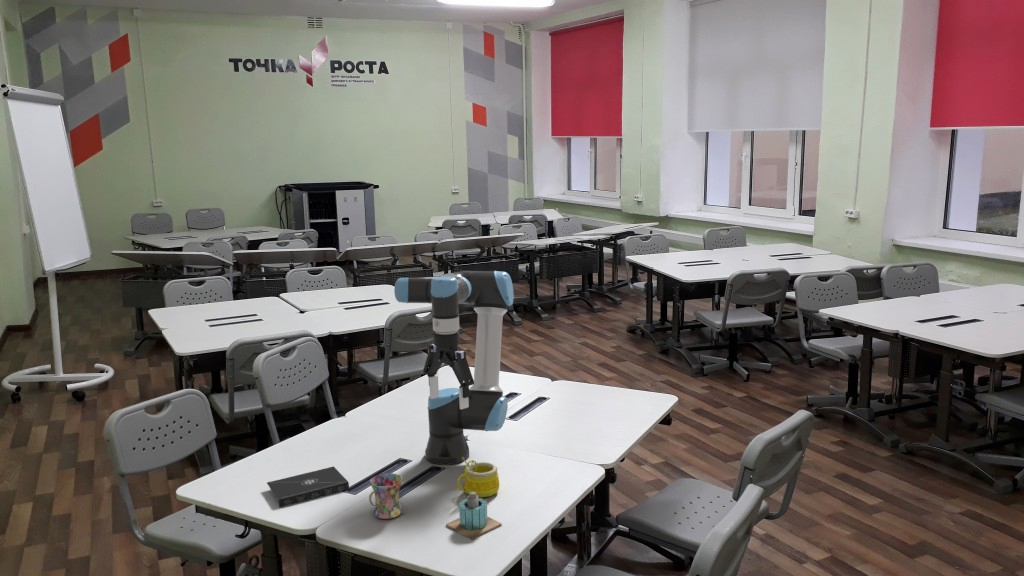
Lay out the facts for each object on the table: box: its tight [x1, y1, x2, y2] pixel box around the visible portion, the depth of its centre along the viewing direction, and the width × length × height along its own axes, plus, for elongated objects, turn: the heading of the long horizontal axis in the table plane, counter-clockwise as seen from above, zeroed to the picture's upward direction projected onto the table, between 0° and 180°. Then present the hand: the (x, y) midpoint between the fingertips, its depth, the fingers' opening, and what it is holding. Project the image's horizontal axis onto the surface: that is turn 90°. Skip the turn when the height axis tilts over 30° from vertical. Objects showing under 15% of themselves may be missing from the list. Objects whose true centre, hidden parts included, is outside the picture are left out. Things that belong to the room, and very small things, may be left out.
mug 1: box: [368, 472, 404, 520], centre depth 220 cm, size 12×9×11 cm
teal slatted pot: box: [458, 497, 488, 530], centre depth 213 cm, size 8×8×6 cm
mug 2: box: [457, 457, 500, 499], centre depth 234 cm, size 13×11×12 cm
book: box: [266, 466, 350, 508], centre depth 239 cm, size 22×15×3 cm
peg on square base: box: [445, 492, 503, 541], centre depth 213 cm, size 11×11×10 cm
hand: (449, 402), depth 221 cm, fingers open, 13 cm apart
